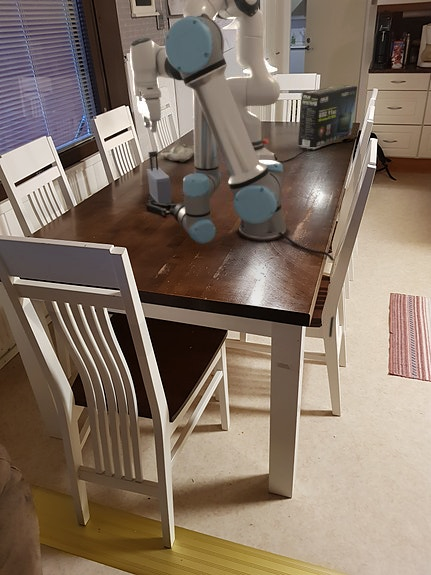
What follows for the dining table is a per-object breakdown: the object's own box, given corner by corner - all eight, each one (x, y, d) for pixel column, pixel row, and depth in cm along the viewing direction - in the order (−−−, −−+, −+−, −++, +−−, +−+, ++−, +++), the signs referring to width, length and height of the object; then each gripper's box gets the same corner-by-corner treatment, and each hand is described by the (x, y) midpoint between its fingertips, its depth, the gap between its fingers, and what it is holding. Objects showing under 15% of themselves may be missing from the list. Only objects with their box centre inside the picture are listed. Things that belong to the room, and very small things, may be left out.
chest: (149, 193, 186) (147, 172, 181) (162, 191, 187) (160, 171, 183) (158, 204, 174) (156, 182, 170) (171, 202, 176) (169, 180, 172)
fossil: (184, 156, 217) (163, 136, 220) (174, 174, 223) (154, 154, 227) (205, 153, 231) (186, 134, 234) (195, 171, 237) (176, 152, 240)
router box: (314, 151, 231) (318, 94, 217) (296, 148, 237) (299, 92, 224) (352, 138, 251) (358, 85, 238) (335, 135, 258) (340, 83, 245)
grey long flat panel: (147, 172, 182) (144, 151, 177) (159, 170, 183) (157, 149, 179) (156, 182, 170) (154, 160, 166) (169, 180, 172) (167, 158, 167)
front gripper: (151, 234, 145) (135, 211, 162) (224, 220, 153) (201, 200, 170) (149, 211, 141) (132, 191, 158) (223, 198, 149) (200, 180, 166)
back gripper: (131, 87, 172) (136, 125, 179) (144, 94, 156) (149, 136, 163) (147, 85, 174) (151, 123, 181) (162, 92, 157) (166, 134, 165)
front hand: (168, 195), depth 164 cm, fingers open, 13 cm apart
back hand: (150, 129), depth 172 cm, fingers open, 8 cm apart
